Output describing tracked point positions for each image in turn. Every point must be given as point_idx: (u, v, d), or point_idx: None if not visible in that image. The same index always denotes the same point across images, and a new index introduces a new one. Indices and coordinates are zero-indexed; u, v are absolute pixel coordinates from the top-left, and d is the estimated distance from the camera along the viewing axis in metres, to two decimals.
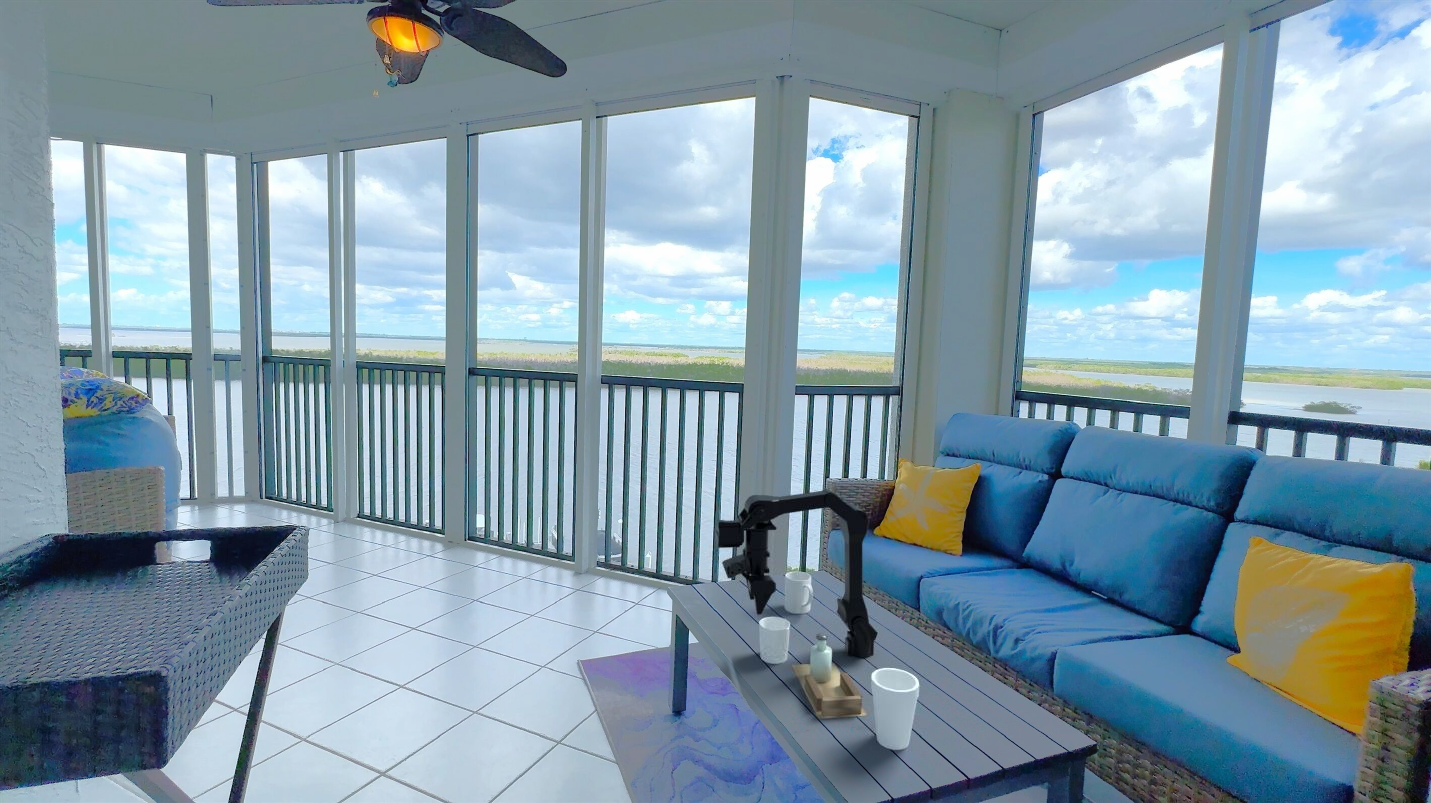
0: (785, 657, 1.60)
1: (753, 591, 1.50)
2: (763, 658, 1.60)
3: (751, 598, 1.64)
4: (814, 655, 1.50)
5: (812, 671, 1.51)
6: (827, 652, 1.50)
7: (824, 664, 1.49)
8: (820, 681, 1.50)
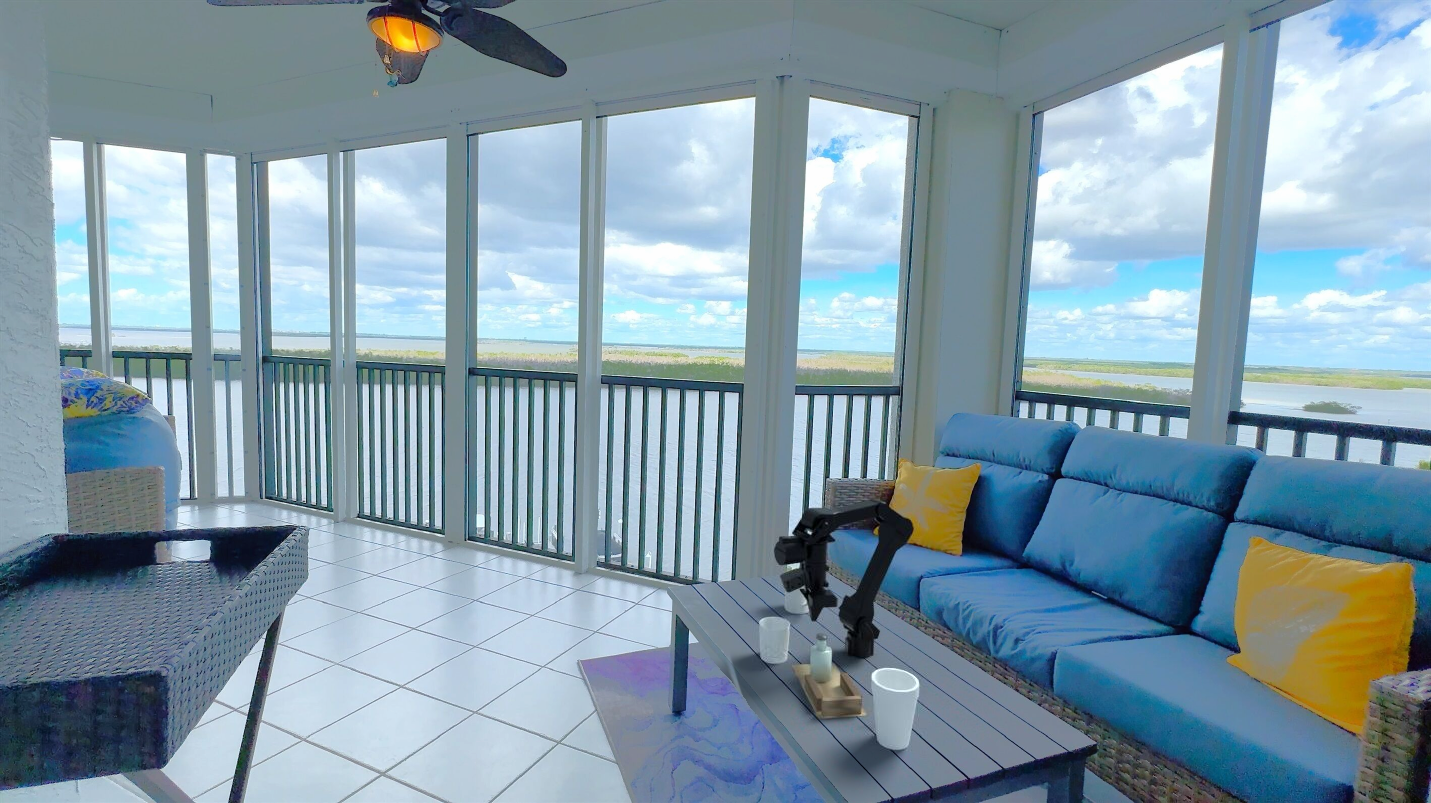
0: (785, 657, 1.60)
1: (815, 606, 1.48)
2: (763, 658, 1.60)
3: None
4: (814, 655, 1.50)
5: (812, 671, 1.51)
6: (827, 652, 1.50)
7: (824, 664, 1.49)
8: (820, 681, 1.50)
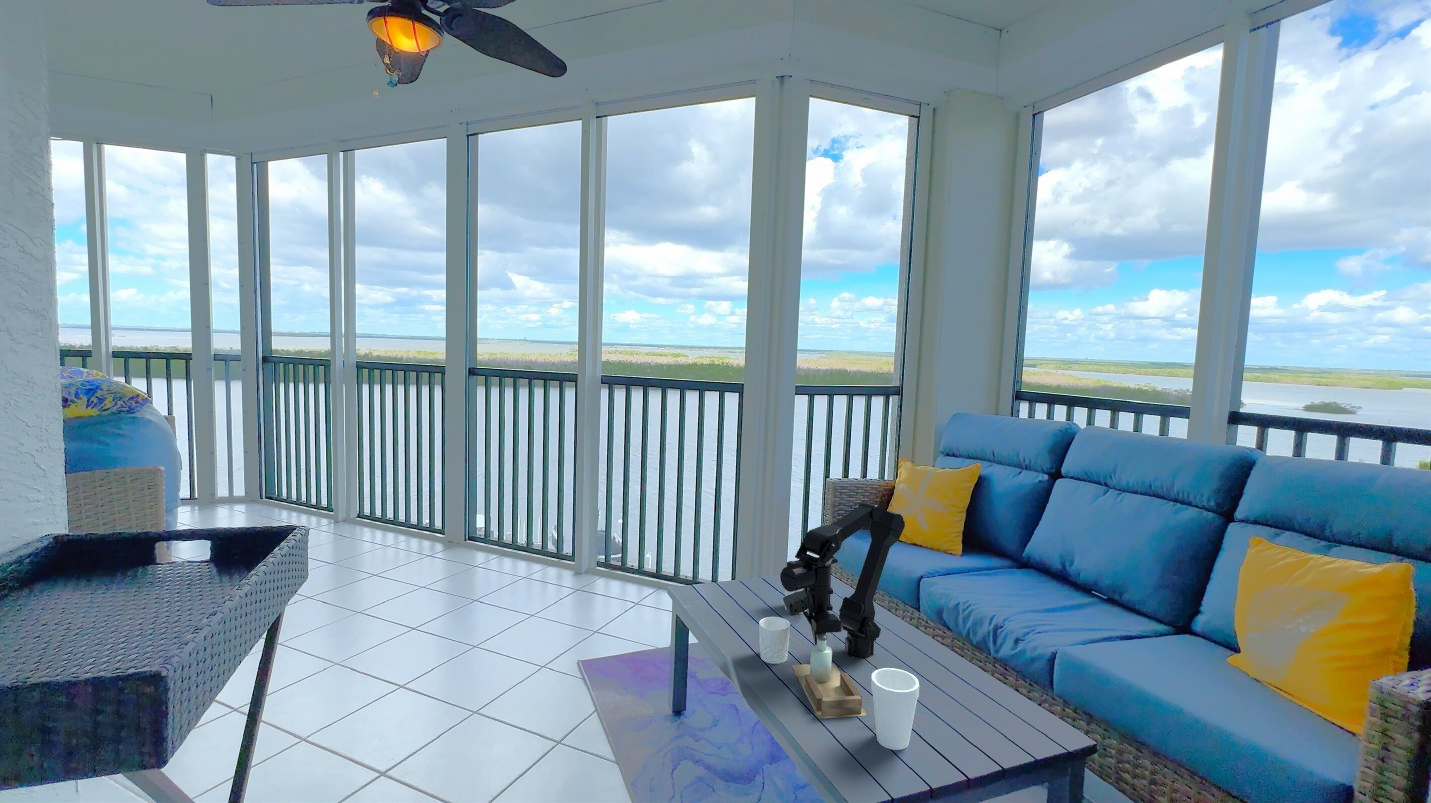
0: (785, 657, 1.60)
1: (819, 631, 1.45)
2: (763, 658, 1.60)
3: None
4: (814, 655, 1.50)
5: (812, 671, 1.51)
6: (827, 652, 1.50)
7: (824, 664, 1.49)
8: (820, 681, 1.50)
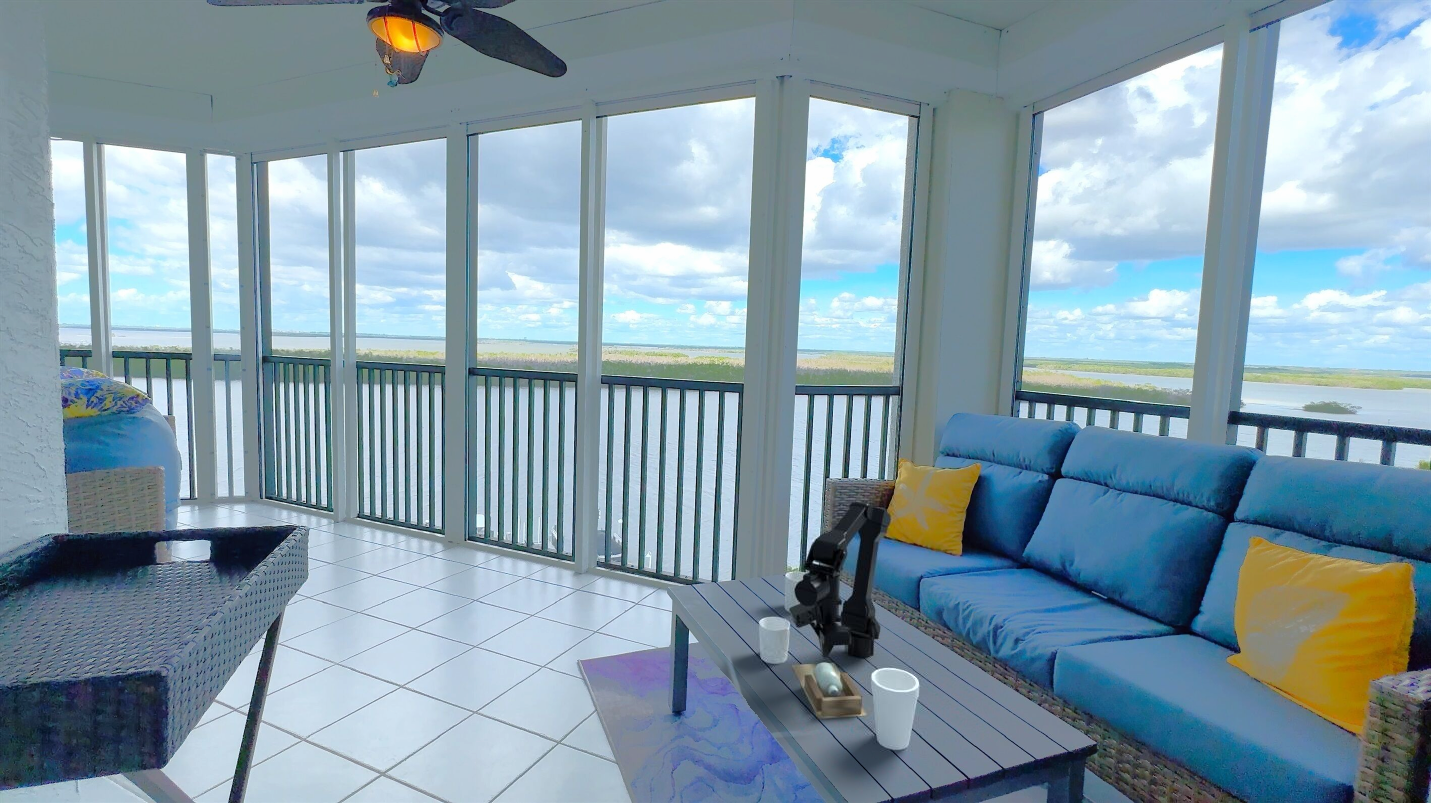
0: (785, 657, 1.60)
1: (827, 644, 1.38)
2: (763, 658, 1.60)
3: None
4: (821, 692, 1.43)
5: (816, 681, 1.47)
6: None
7: None
8: None
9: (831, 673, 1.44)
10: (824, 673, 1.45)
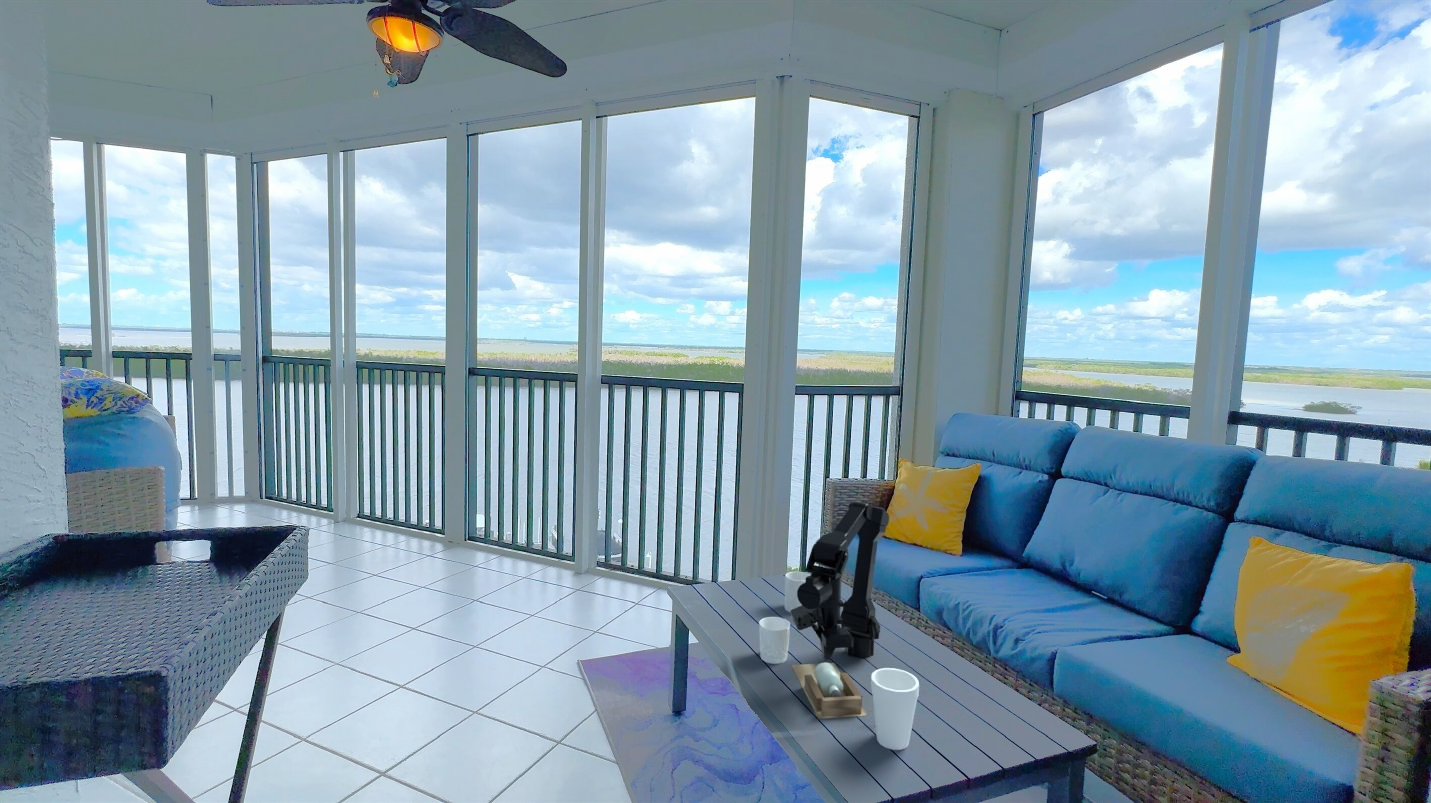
0: (785, 657, 1.60)
1: (829, 646, 1.37)
2: (763, 658, 1.60)
3: None
4: (822, 692, 1.43)
5: (816, 680, 1.47)
6: None
7: None
8: None
9: (832, 673, 1.44)
10: (825, 672, 1.45)
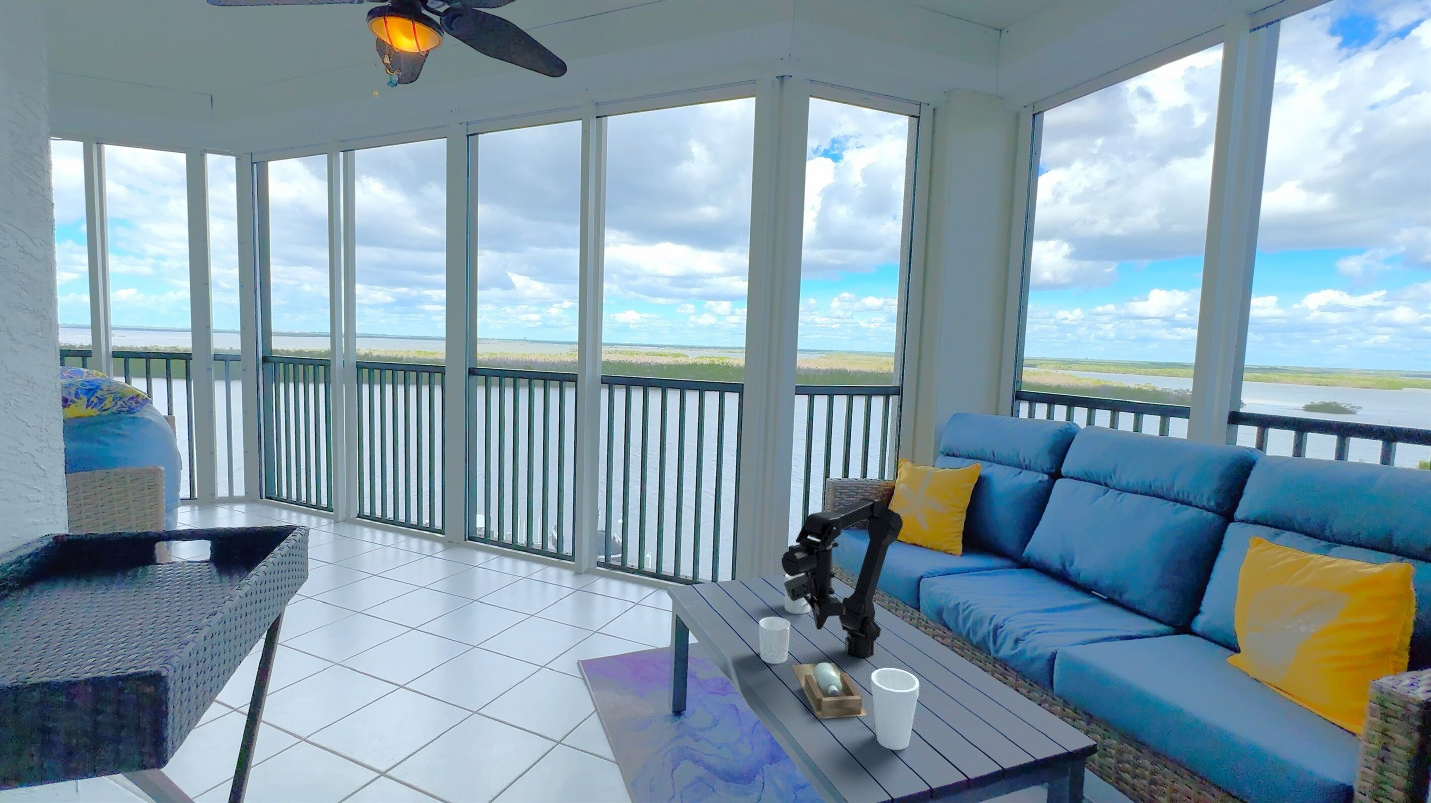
0: (785, 657, 1.60)
1: (822, 615, 1.44)
2: (763, 658, 1.60)
3: None
4: (821, 692, 1.43)
5: None
6: None
7: None
8: None
9: (830, 673, 1.44)
10: (823, 673, 1.45)
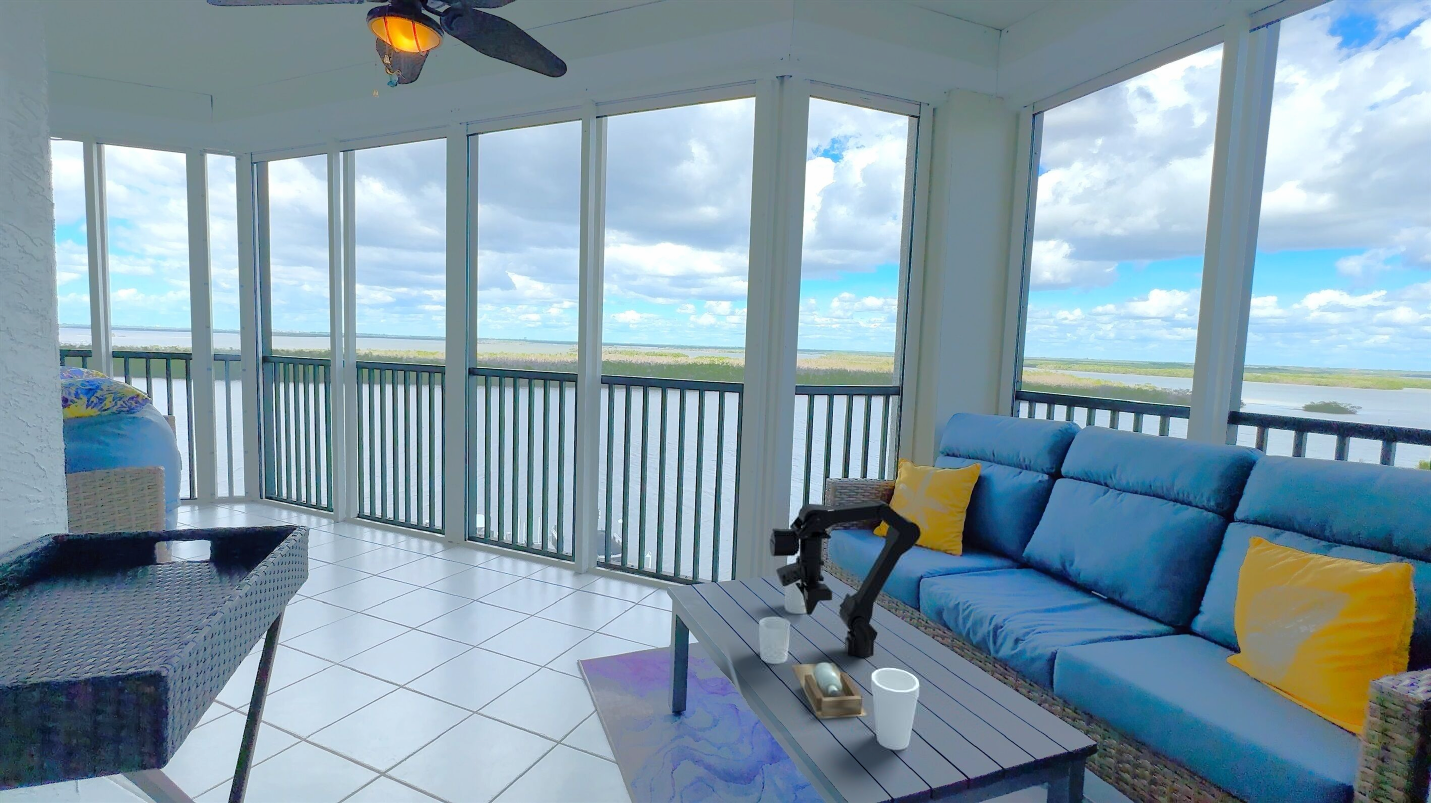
0: (785, 657, 1.60)
1: (810, 599, 1.52)
2: (763, 658, 1.60)
3: None
4: None
5: (816, 681, 1.47)
6: None
7: None
8: None
9: (830, 673, 1.44)
10: (823, 673, 1.45)
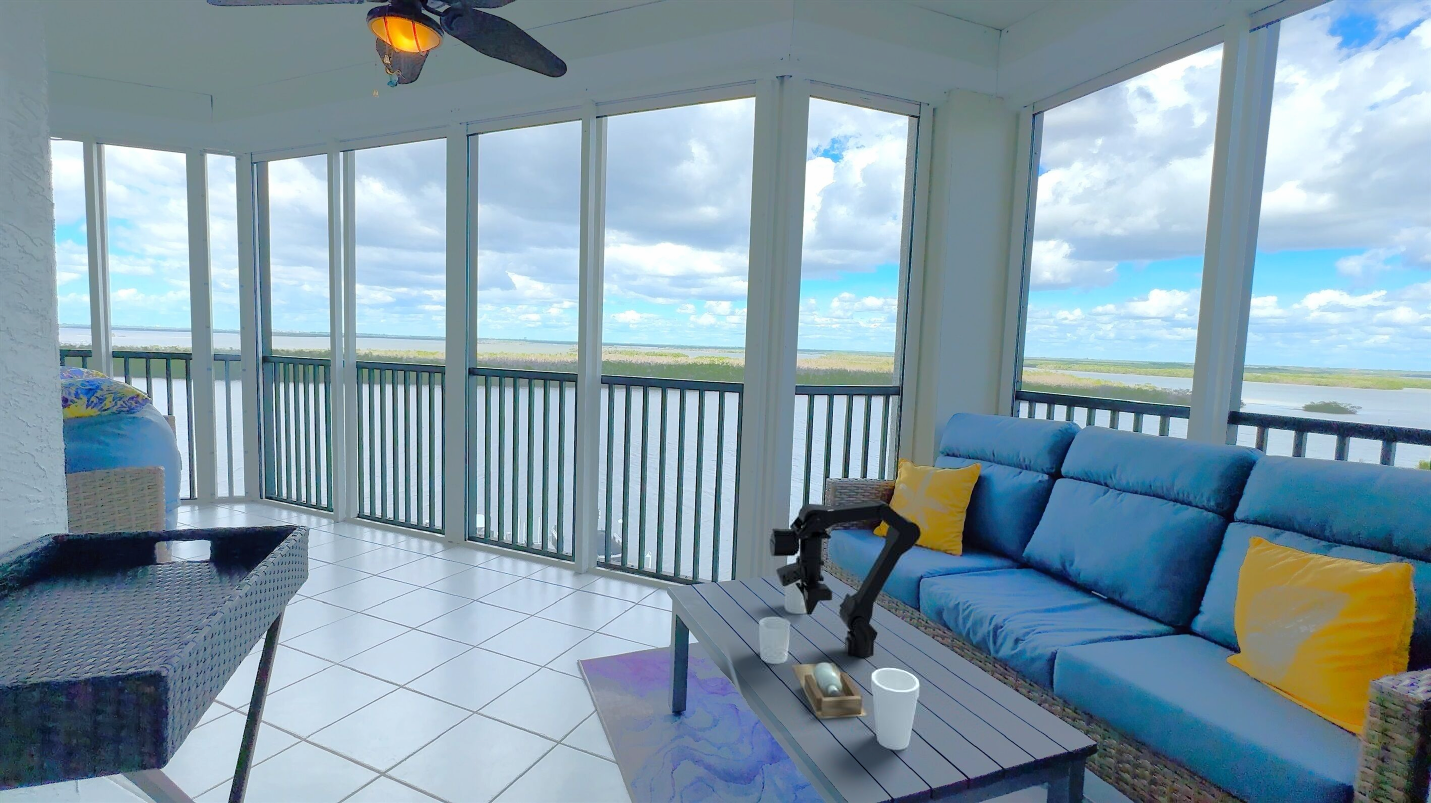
0: (785, 657, 1.60)
1: (810, 599, 1.52)
2: (763, 658, 1.60)
3: None
4: (821, 692, 1.43)
5: (816, 681, 1.47)
6: None
7: None
8: None
9: (830, 673, 1.44)
10: (823, 673, 1.45)
